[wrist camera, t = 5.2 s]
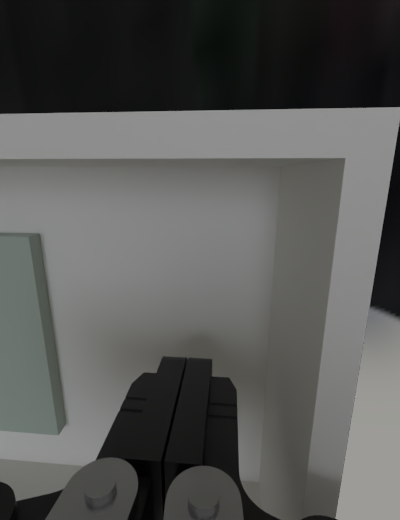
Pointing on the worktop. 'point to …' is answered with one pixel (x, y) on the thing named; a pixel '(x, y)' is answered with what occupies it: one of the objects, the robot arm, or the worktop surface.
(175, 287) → the tray
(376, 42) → the worktop surface
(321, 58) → the worktop surface
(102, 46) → the worktop surface
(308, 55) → the worktop surface
